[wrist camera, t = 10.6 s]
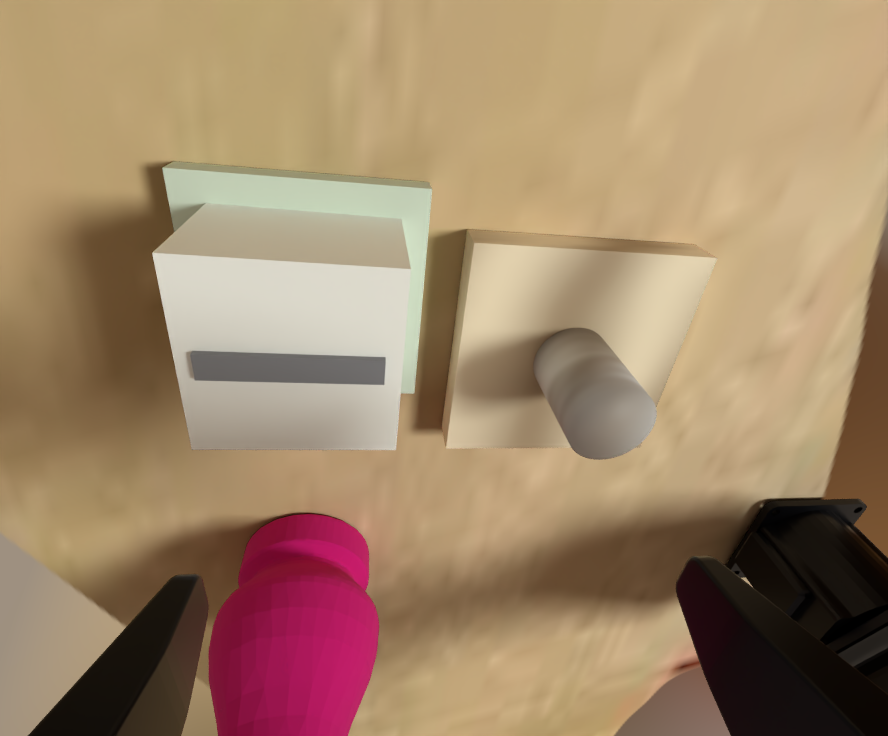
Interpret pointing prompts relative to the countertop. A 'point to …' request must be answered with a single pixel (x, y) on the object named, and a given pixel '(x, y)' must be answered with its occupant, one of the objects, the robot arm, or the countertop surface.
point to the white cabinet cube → (287, 327)
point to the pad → (316, 194)
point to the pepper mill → (295, 632)
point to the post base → (548, 301)
